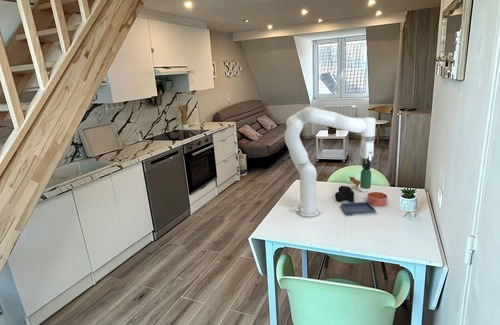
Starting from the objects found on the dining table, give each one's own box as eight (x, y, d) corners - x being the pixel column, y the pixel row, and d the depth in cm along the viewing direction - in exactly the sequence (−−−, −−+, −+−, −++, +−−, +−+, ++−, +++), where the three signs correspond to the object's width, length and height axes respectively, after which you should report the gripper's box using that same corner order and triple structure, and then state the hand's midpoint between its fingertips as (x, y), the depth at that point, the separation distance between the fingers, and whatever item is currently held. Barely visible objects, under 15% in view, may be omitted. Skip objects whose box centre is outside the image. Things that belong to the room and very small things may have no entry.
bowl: (371, 208, 192) (371, 199, 190) (364, 200, 204) (364, 192, 202) (390, 206, 192) (391, 198, 190) (382, 199, 203) (382, 191, 202)
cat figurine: (367, 180, 211) (350, 169, 226) (354, 190, 210) (338, 179, 225) (372, 192, 218) (356, 180, 233) (360, 202, 217) (344, 190, 232)
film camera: (330, 197, 213) (330, 184, 210) (343, 194, 215) (343, 182, 212) (343, 205, 198) (343, 192, 196) (356, 202, 201) (356, 189, 198)
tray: (346, 215, 185) (346, 211, 184) (340, 206, 196) (340, 203, 196) (375, 213, 184) (375, 209, 184) (367, 205, 196) (368, 201, 195)
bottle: (362, 189, 187) (363, 161, 182) (358, 185, 192) (359, 158, 188) (372, 188, 186) (373, 160, 182) (368, 185, 192) (369, 158, 187)
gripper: (356, 136, 189) (355, 165, 194) (366, 142, 173) (364, 173, 178) (368, 135, 189) (367, 164, 194) (379, 141, 173) (377, 172, 178)
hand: (366, 168), depth 186 cm, fingers closed on bottle, 2 cm apart
